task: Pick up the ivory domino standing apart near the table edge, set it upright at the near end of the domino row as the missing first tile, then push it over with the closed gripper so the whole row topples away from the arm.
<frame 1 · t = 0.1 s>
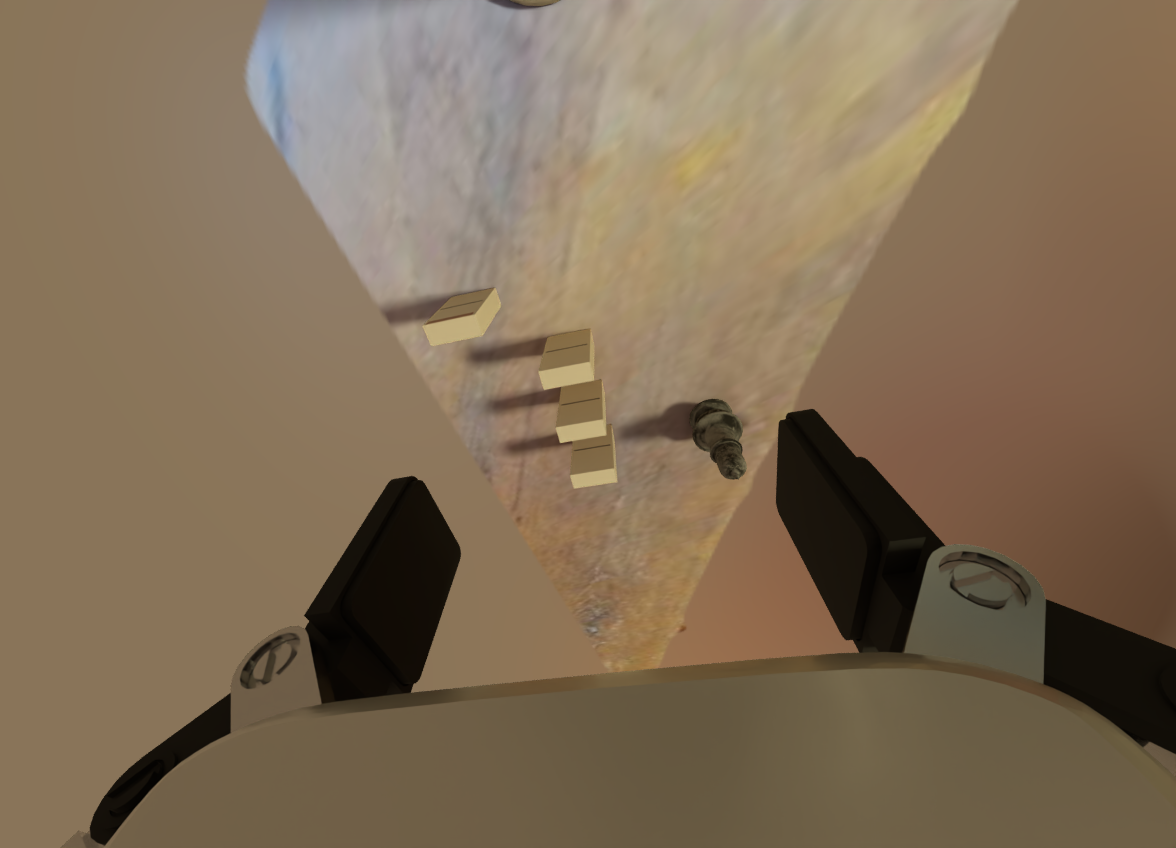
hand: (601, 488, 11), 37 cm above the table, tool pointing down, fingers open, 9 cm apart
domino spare: (476, 301, 45), on the table
domino 4: (593, 433, 54), on the table
domino 2: (570, 341, 47), on the table
domino 3: (583, 390, 51), on the table
dark chess piece: (710, 416, 53), on the table
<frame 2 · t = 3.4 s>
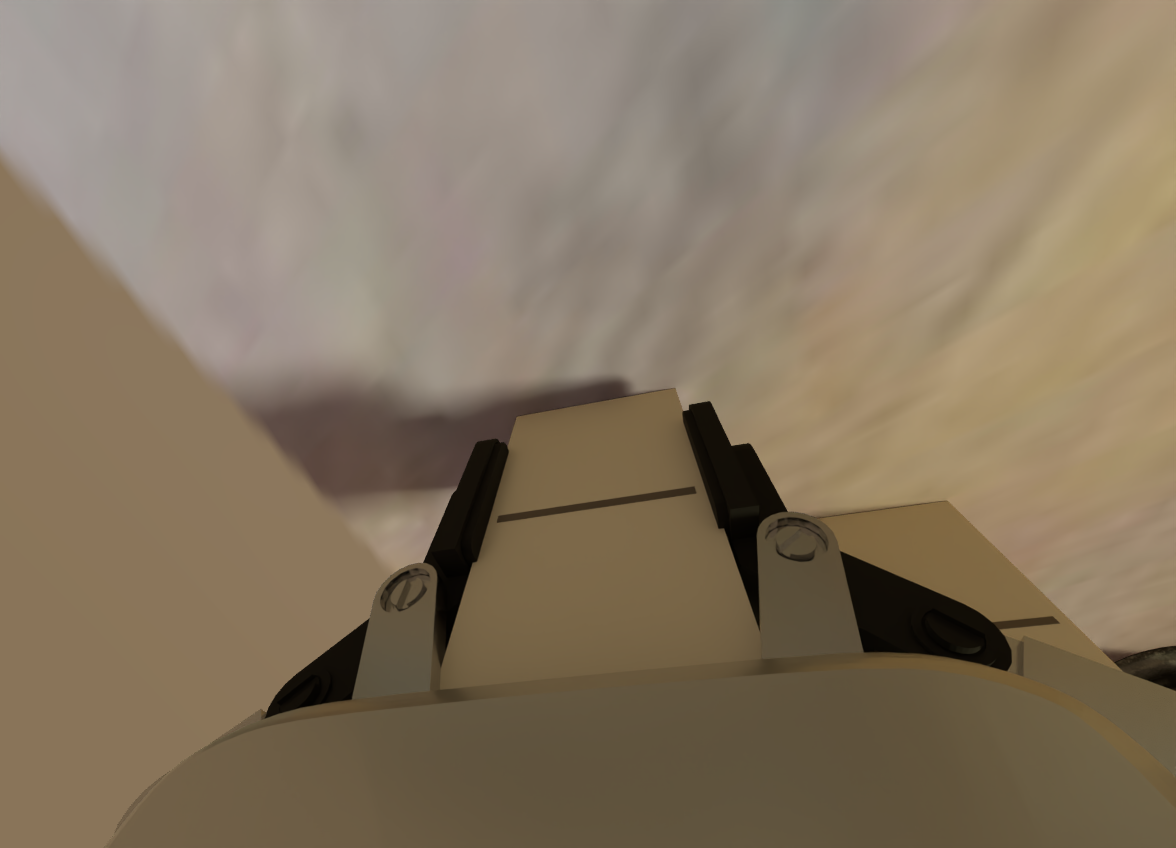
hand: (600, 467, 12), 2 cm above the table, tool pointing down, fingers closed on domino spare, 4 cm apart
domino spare: (600, 429, 13), on the table, touching gripper
domino 2: (869, 529, 16), on the table
dark chess piece: (1144, 670, 21), on the table
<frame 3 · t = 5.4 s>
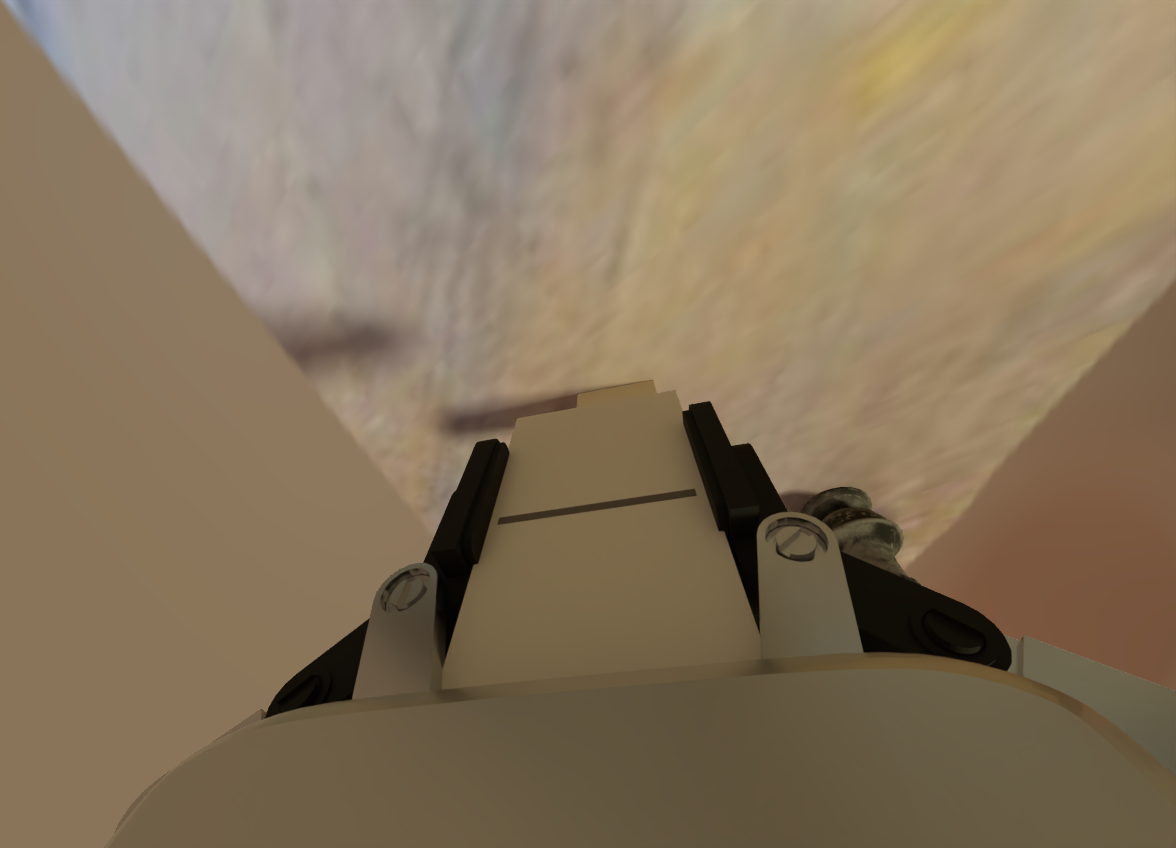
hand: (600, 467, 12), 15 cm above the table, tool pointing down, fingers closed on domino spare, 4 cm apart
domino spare: (600, 430, 13), point 13 cm above the table, touching gripper
domino 2: (617, 400, 28), on the table
dark chess piece: (834, 510, 33), on the table
when the fingers open (3 cm above the table, at t = 7.9 s): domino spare stays where it is, on the table.
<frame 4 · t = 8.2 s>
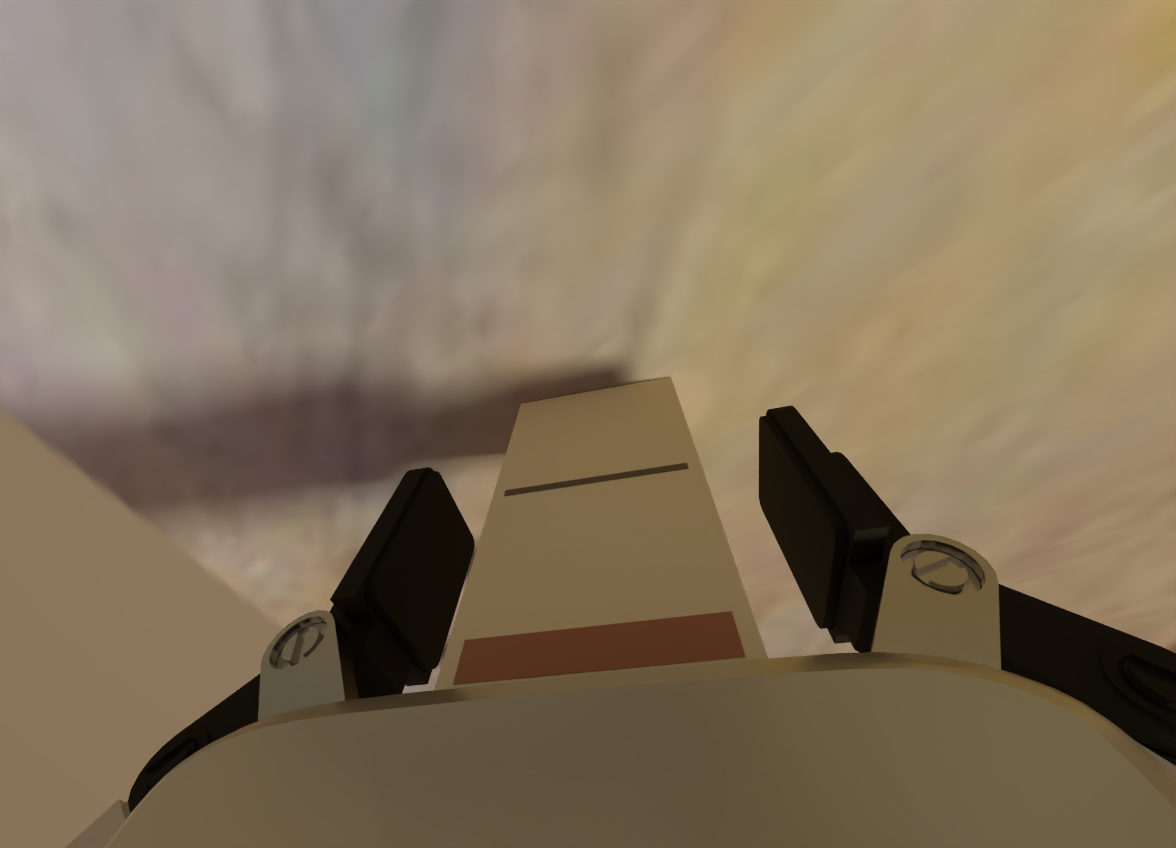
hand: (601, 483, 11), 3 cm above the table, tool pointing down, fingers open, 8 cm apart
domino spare: (600, 416, 14), on the table
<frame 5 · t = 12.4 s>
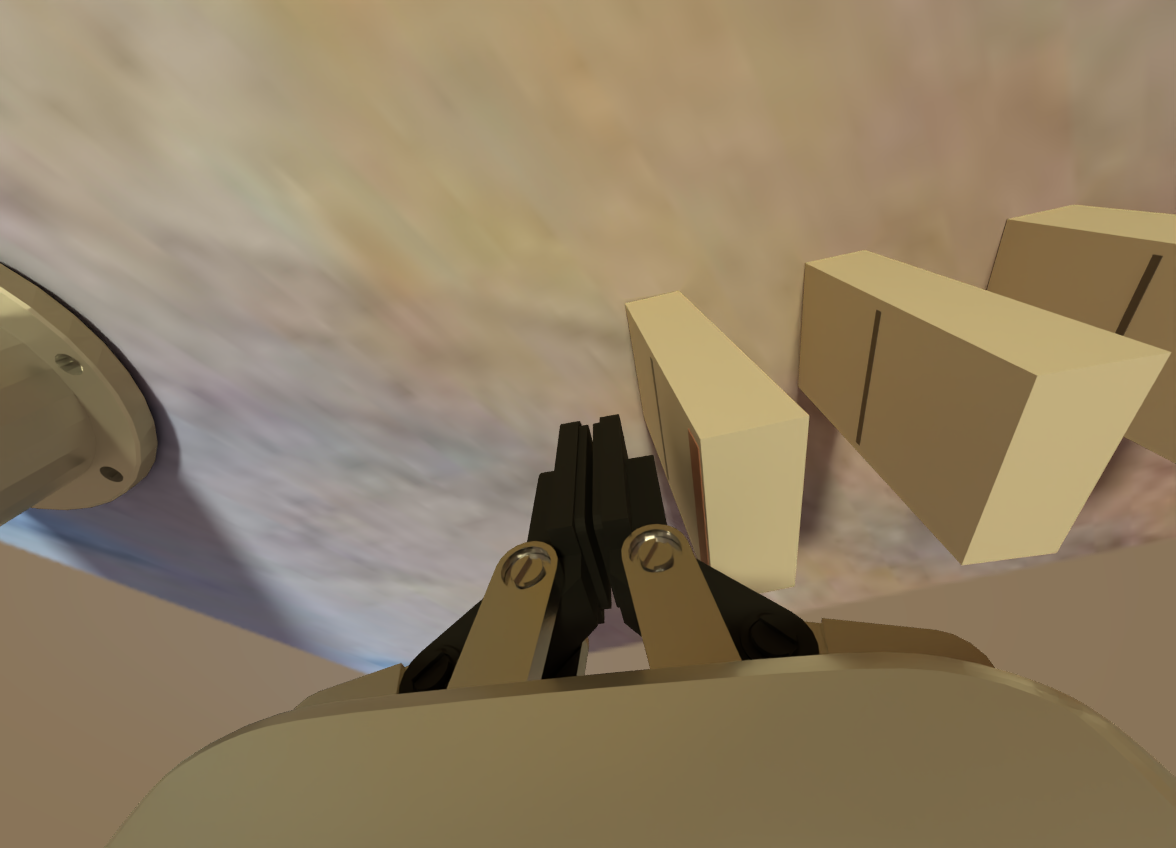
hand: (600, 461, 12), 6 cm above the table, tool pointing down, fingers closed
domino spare: (659, 359, 17), on the table, touching gripper
domino 2: (828, 324, 16), on the table
domino 3: (1015, 287, 15), on the table
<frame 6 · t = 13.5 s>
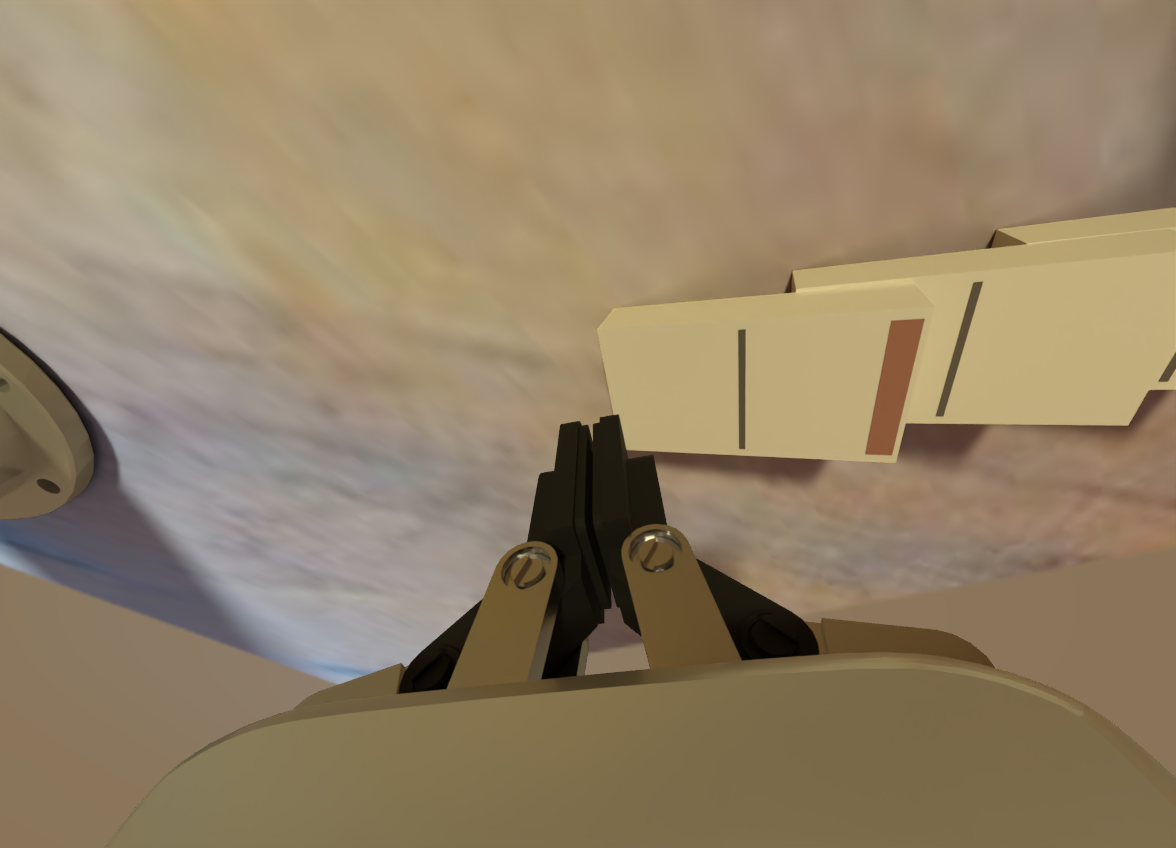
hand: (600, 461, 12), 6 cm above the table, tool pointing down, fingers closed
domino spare: (617, 381, 16), point 1 cm above the table, tilted 71°, touching domino 2
domino 2: (790, 349, 15), point 1 cm above the table, tilted 72°, touching domino 3, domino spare
domino 3: (985, 313, 14), point 1 cm above the table, tilted 72°, touching domino 2, domino 4
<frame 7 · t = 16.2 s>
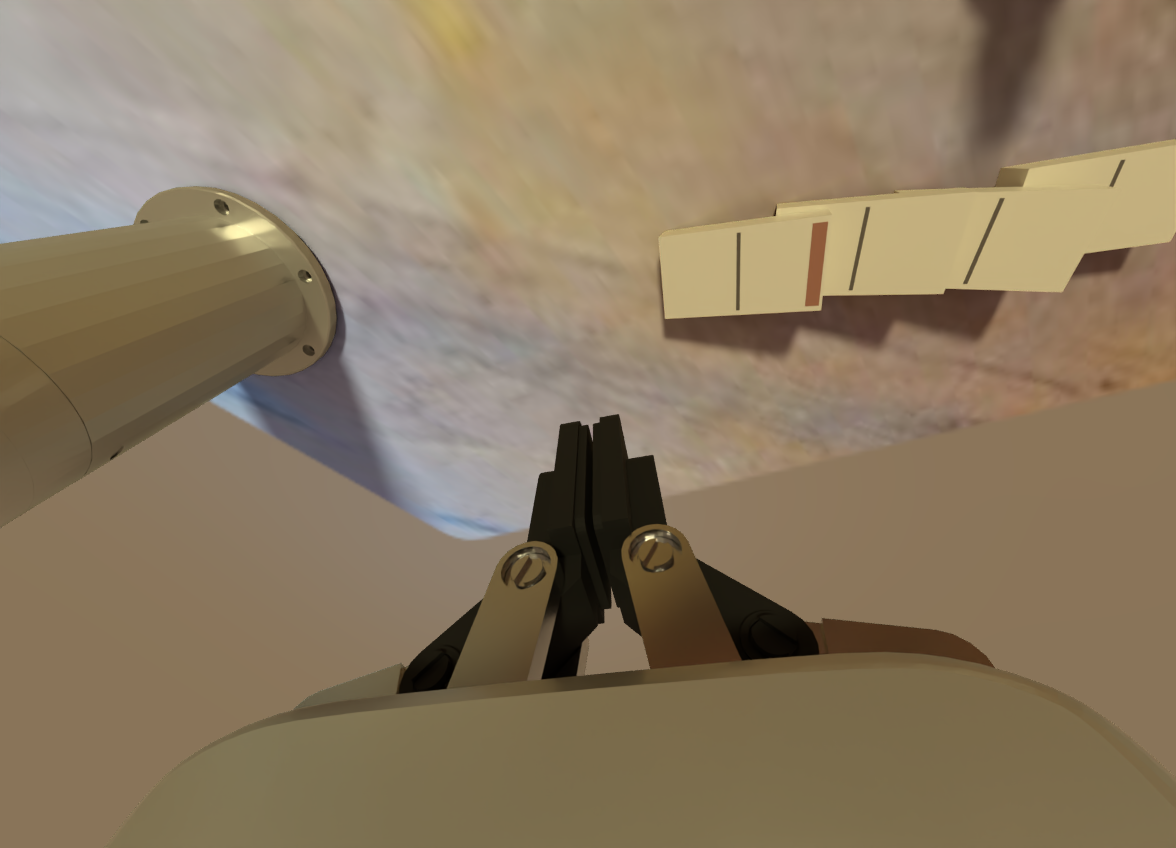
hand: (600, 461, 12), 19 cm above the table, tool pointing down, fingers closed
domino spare: (665, 275, 27), point 1 cm above the table, tilted 72°, touching domino 2
domino 4: (997, 217, 24), point 1 cm above the table, tilted 90°
domino 2: (772, 251, 26), point 1 cm above the table, tilted 71°, touching domino 3, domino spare
domino 3: (883, 239, 25), point 1 cm above the table, tilted 73°, touching domino 2
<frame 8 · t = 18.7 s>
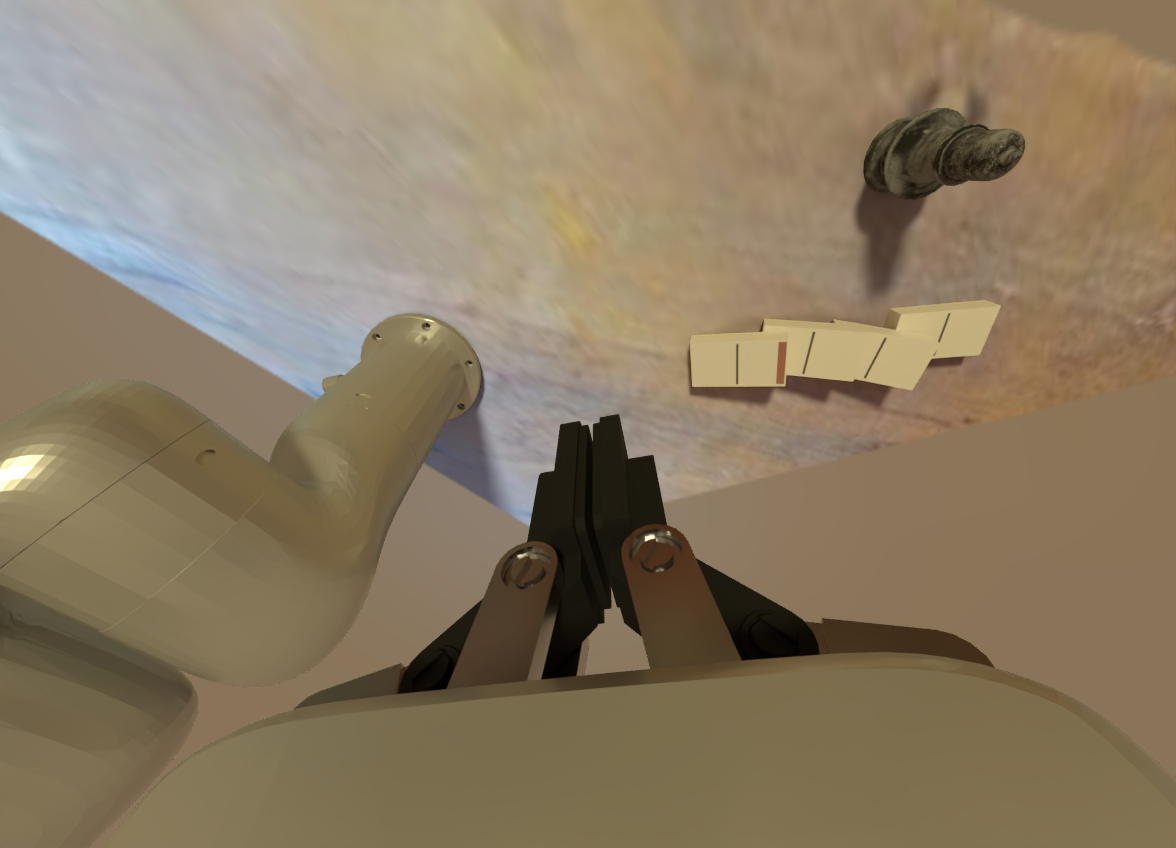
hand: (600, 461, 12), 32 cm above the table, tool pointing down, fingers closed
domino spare: (692, 361, 44), point 1 cm above the table, tilted 72°, touching domino 2
domino 4: (887, 335, 42), point 1 cm above the table, tilted 89°, touching domino 3
domino 2: (759, 345, 43), point 1 cm above the table, tilted 71°, touching domino 3, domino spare
domino 3: (824, 345, 43), point 1 cm above the table, tilted 74°, touching domino 2, domino 4
dark chess piece: (895, 156, 35), on the table
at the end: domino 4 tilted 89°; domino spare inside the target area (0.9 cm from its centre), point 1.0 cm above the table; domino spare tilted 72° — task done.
